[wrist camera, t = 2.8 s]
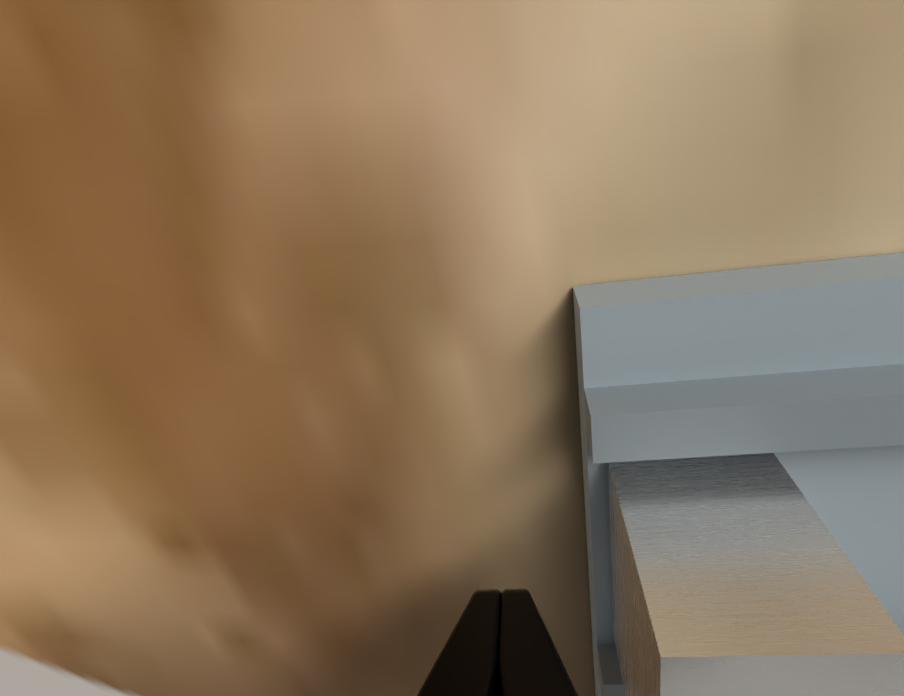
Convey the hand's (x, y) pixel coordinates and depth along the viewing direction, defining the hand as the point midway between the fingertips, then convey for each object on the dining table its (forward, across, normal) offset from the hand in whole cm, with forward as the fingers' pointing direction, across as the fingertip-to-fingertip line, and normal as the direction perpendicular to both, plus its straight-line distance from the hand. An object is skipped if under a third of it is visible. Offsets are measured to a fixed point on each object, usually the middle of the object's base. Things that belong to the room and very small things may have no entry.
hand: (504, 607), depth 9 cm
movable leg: (+1, -3, +2) cm, 4 cm away
